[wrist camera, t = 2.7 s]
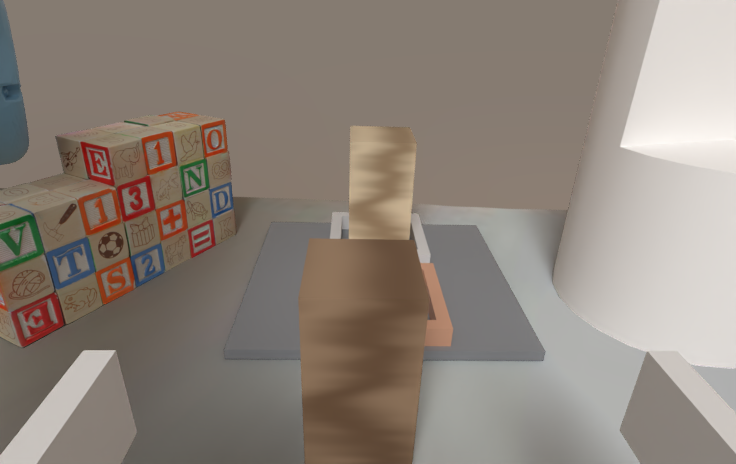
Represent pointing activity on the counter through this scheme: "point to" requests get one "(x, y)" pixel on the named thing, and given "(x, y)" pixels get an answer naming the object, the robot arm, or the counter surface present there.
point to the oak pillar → (381, 182)
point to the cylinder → (659, 185)
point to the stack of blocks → (111, 218)
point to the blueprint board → (443, 282)
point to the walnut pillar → (361, 350)
